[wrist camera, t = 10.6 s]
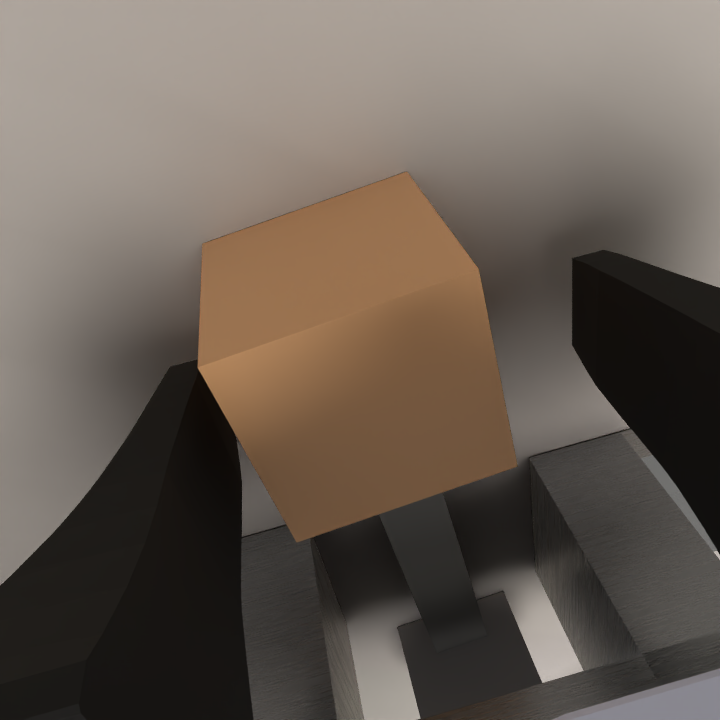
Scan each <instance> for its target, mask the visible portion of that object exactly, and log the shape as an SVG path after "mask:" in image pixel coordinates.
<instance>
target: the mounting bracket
mask: <svg viewBox="0 0 720 720" xmlns="http://www.w3.org/2000/svg"><path fill="white" fill-rule="evenodd" d="M529 462H530V481H531V499H532V518H533V536H534V555H535V571H536V573H537V575H538V577H539V579H540V581H541V583H542V585H543V588H544V590H545V592H546V594H547V596H548V598H549V600H550V602H551V604H552V606H553V608H554V610H555V612H556V614H557V616H558V618H559V621H560V623H561V625H562V627H563V629H564V631H565V633H566V635H567V637H568V639H569V641H570V643H571V645H572V647H573V649H574V651H575V654H576V656H577V658H578V660H579V662H580V664H581V666H582V668H583V670H584V671H582V672H579V673H576V674H572V675H569V676H565V677H562V678H559V679H555V680H552V681H548V682H545V683H541V684H538V685H535V686H531V687H528V688H524V689H521V690H517V691H514V692H511V693H507V694H504V695H500V696H497V697H494V698H490V699H487V700H483V701H480V702H476V703H473V704H470V705H466V706H463V707H459V708H456V709H453V710H449V711H446V712H442V713H439V714H435V715H432V716H429V717H425V718H422V719H418V720H552V719H555V718H557V717H559V716H562V715H564V714H567V713H570V712H574V711H577V710H580V709H584V708H587V707H591V706H594V705H597V704H601V703H604V702H607V701H611V700H614V699H618V698H621V697H624V696H628V695H631V694H635V693H638V692H641V691H645V690H648V689H652V688H655V687H658V686H662V685H665V684H669V683H672V682H675V681H679V680H682V679H686V678H689V677H692V676H696V675H699V674H703V673H706V672H709V671H713V670H716V669H720V560H719V558H718V557H717V556H716V555H715V553H714V552H713V551H717V549H716V547H715V546H714V544H713V543H712V541H711V539H710V538H709V536H708V534H707V533H706V531H705V529H704V528H703V526H702V525H701V523H700V522H699V520H698V518H697V517H696V515H695V514H694V512H693V511H692V509H691V508H690V506H689V505H688V503H687V501H686V500H685V498H684V497H683V495H682V494H681V492H680V491H679V489H678V488H677V486H676V485H675V483H674V482H673V481H672V479H671V478H670V477H669V475H668V474H667V473H666V471H665V470H664V469H663V467H662V466H661V465H660V464H659V462H658V461H657V460H656V459H655V457H654V456H653V455H652V454H651V453H650V451H649V450H648V449H647V448H646V447H645V445H644V444H643V443H642V442H641V440H640V439H639V438H638V437H637V436H636V434H635V433H634V432H633V431H632V429H630V430H626V431H623V432H619V433H616V434H612V435H609V436H605V437H601V438H598V439H594V440H591V441H587V442H584V443H580V444H576V445H573V446H569V447H566V448H562V449H559V450H555V451H551V452H548V453H544V454H541V455H537V456H534V457H530V458H529ZM241 600H242V617H243V627H244V637H245V647H246V658H247V667H248V676H249V684H250V693H251V702H252V711H253V719H254V720H364V716H363V711H362V705H361V700H360V694H359V689H358V683H357V678H356V673H355V667H354V662H353V656H352V651H351V645H350V640H349V634H348V629H347V624H346V622H345V619H344V616H343V614H342V611H341V608H340V606H339V603H338V600H337V598H336V595H335V593H334V590H333V587H332V585H331V582H330V579H329V577H328V574H327V571H326V569H325V566H324V564H323V561H322V558H321V556H320V553H319V550H318V548H317V545H316V543H315V540H314V537H312V538H309V539H306V540H303V541H300V542H296V541H295V539H294V537H293V535H292V534H291V532H290V530H289V528H288V526H284V527H280V528H276V529H273V530H269V531H266V532H262V533H259V534H255V535H251V536H248V537H244V538H242V545H241Z"/></svg>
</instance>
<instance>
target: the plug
mask: <svg viewBox="0 0 720 720" xmlns="http://www.w3.org/2000/svg"><path fill="white" fill-rule="evenodd" d="M198 369H199V371H200V373H201V374H202V376H203V378H204V380H205V381H206V383H207V385H208V387H209V388H210V390H211V392H212V394H213V396H214V397H215V399H216V401H217V403H218V404H219V406H220V408H221V410H222V411H223V413H224V415H225V417H226V419H227V420H228V422H229V424H230V426H231V427H232V429H233V431H234V433H235V434H236V436H237V438H238V440H239V442H240V443H241V445H242V447H243V449H244V450H245V452H246V454H247V456H248V457H249V459H250V461H251V463H252V465H253V466H254V468H255V470H256V472H257V473H258V475H259V477H260V479H261V480H262V482H263V484H264V486H265V488H266V489H267V491H268V493H269V495H270V496H271V498H272V500H273V502H274V503H275V505H276V507H277V509H278V511H279V512H280V514H281V516H282V518H283V519H284V521H285V523H286V525H287V526H288V528H289V530H290V532H291V534H292V535H293V537H294V539H295V541H296V542H300V541H303V540H306V539H309V538H312V537H315V536H317V535H320V534H323V533H326V532H329V531H332V530H335V529H338V528H341V527H344V526H346V525H349V524H352V523H355V522H358V521H361V520H364V519H367V518H370V517H373V516H375V515H378V514H379V516H380V519H381V521H382V524H383V526H384V528H385V531H386V533H387V535H388V538H389V540H390V543H391V545H392V547H393V550H394V552H395V555H396V557H397V559H398V562H399V564H400V566H401V569H402V571H403V574H404V576H405V578H406V581H407V583H408V586H409V588H410V590H411V593H412V595H413V598H414V600H415V602H416V605H417V607H418V609H419V612H420V614H421V617H422V619H420V620H417V621H414V622H411V623H409V624H406V625H403V626H400V627H398V631H399V635H400V639H401V643H402V647H403V651H404V655H405V659H406V663H407V666H408V670H409V674H410V678H411V682H412V686H413V690H414V694H415V698H416V702H417V706H418V710H419V714H420V718H421V719H422V718H425V717H429V716H432V715H435V714H439V713H442V712H446V711H449V710H453V709H456V708H459V707H463V706H466V705H470V704H473V703H476V702H480V701H483V700H487V699H490V698H494V697H497V696H500V695H504V694H507V693H511V692H514V691H517V690H521V689H524V688H528V687H531V686H535V685H538V684H541V683H542V681H541V679H540V677H539V674H538V672H537V670H536V667H535V665H534V663H533V660H532V658H531V655H530V653H529V651H528V648H527V646H526V644H525V641H524V639H523V637H522V634H521V632H520V630H519V627H518V625H517V622H516V620H515V618H514V615H513V613H512V611H511V608H510V606H509V604H508V601H507V599H506V596H505V594H504V592H503V591H502V592H499V593H497V594H494V595H491V596H488V597H485V598H482V599H479V600H476V597H475V594H474V591H473V588H472V584H471V581H470V578H469V575H468V572H467V568H466V565H465V562H464V559H463V556H462V553H461V549H460V546H459V543H458V540H457V537H456V533H455V530H454V527H453V524H452V521H451V517H450V514H449V511H448V508H447V505H446V501H445V498H444V495H443V492H445V491H448V490H451V489H454V488H457V487H460V486H463V485H466V484H468V483H471V482H474V481H477V480H480V479H483V478H486V477H489V476H492V475H495V474H497V473H500V472H503V471H506V470H509V469H512V468H515V467H518V466H517V460H516V455H515V450H514V445H513V440H512V435H511V430H510V425H509V420H508V415H507V410H506V405H505V400H504V395H503V390H502V384H501V379H500V374H499V369H498V364H497V359H496V354H495V349H494V344H493V339H492V334H491V329H490V324H489V319H488V314H487V309H486V303H485V298H484V293H483V288H482V283H481V278H480V273H479V269H478V267H477V266H476V265H475V263H474V262H473V261H472V259H471V258H470V257H469V255H468V254H467V252H466V251H465V250H464V248H463V247H462V246H461V244H460V243H459V242H458V240H457V239H456V238H455V236H454V235H453V233H452V232H451V231H450V229H449V228H448V227H447V225H446V224H445V223H444V221H443V220H442V219H441V217H440V216H439V214H438V213H437V212H436V210H435V209H434V208H433V206H432V205H431V204H430V202H429V201H428V200H427V198H426V197H425V195H424V194H423V193H422V191H421V190H420V189H419V187H418V186H417V185H416V183H415V182H414V181H413V179H412V178H411V177H410V175H409V174H408V172H404V173H401V174H398V175H396V176H393V177H390V178H387V179H384V180H381V181H379V182H376V183H373V184H370V185H367V186H365V187H362V188H359V189H356V190H353V191H350V192H348V193H345V194H342V195H339V196H336V197H333V198H331V199H328V200H325V201H322V202H319V203H316V204H314V205H311V206H308V207H305V208H302V209H300V210H297V211H294V212H291V213H288V214H285V215H283V216H280V217H277V218H274V219H271V220H268V221H266V222H263V223H260V224H257V225H254V226H251V227H249V228H246V229H243V230H240V231H237V232H234V233H232V234H229V235H226V236H223V237H220V238H218V239H215V240H212V241H209V242H206V243H203V244H202V269H201V294H200V320H199V346H198Z"/></svg>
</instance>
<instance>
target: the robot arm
mask: <svg viewBox="0 0 720 720" xmlns="http://www.w3.org/2000/svg"><path fill="white" fill-rule="evenodd" d="M572 346H573V347H574V349H575V351H576V353H577V354H578V356H579V358H580V360H581V361H582V363H583V365H584V367H585V368H586V370H587V372H588V373H589V375H590V377H591V378H592V380H593V381H594V383H595V385H596V386H597V387H598V389H599V390H600V391H601V392H602V394H603V395H604V396H605V397H606V399H607V400H608V401H609V402H610V404H611V405H612V406H613V407H614V409H615V410H616V411H617V412H618V414H619V415H620V416H621V417H622V418H623V420H624V421H625V422H626V423H627V425H628V426H629V427H630V428H631V429H632V431H633V432H634V433H635V434H636V436H637V437H638V438H639V439H640V440H641V442H642V443H643V444H644V445H645V447H646V448H647V449H648V450H649V451H650V453H651V454H652V455H653V456H654V457H655V459H656V460H657V461H658V462H659V464H660V465H661V466H662V467H663V469H664V470H665V471H666V473H667V474H668V475H669V477H670V478H671V479H672V481H673V482H674V483H675V485H676V486H677V488H678V489H679V491H680V492H681V494H682V495H683V497H684V498H685V500H686V501H687V503H688V505H689V506H690V508H691V509H692V511H693V512H694V514H695V515H696V517H697V518H698V520H699V522H700V523H701V525H702V526H703V528H704V529H705V531H706V533H707V534H708V536H709V538H710V539H711V541H712V543H713V544H714V546H715V547H716V549H717V551H718V552H719V554H720V288H719V287H716V286H712V285H709V284H706V283H703V282H700V281H697V280H694V279H691V278H688V277H685V276H682V275H679V274H676V273H673V272H670V271H668V270H665V269H662V268H659V267H656V266H653V265H650V264H647V263H645V262H642V261H639V260H636V259H633V258H630V257H627V256H623V255H620V254H617V253H613V252H609V251H605V250H601V251H598V252H594V253H590V254H587V255H583V256H579V257H576V258H572ZM241 545H242V479H241V471H240V462H239V455H238V448H237V440H236V436H235V434H234V431H233V429H232V427H231V426H230V424H229V422H228V420H227V419H226V417H225V415H224V413H223V411H222V410H221V408H220V406H219V404H218V403H217V401H216V399H215V397H214V396H213V394H212V392H211V390H210V388H209V387H208V385H207V383H206V381H205V380H204V378H203V376H202V374H201V373H200V371H199V369H198V360H194V361H190V362H186V363H183V364H179V365H175V366H172V367H170V368H169V370H168V371H167V373H166V374H165V376H164V378H163V379H162V381H161V383H160V384H159V386H158V388H157V389H156V391H155V393H154V394H153V396H152V398H151V399H150V401H149V403H148V404H147V406H146V408H145V410H144V411H143V413H142V415H141V416H140V418H139V419H138V421H137V423H136V424H135V426H134V427H133V429H132V431H131V432H130V434H129V435H128V437H127V439H126V440H125V442H124V443H123V445H122V446H121V447H120V449H119V450H118V452H117V453H116V454H115V456H114V457H113V459H112V460H111V462H110V463H109V464H108V466H107V467H106V469H105V470H104V472H103V473H102V474H101V476H100V477H99V479H98V480H97V481H96V483H95V484H94V485H93V487H92V488H91V489H90V490H89V492H88V493H87V494H86V495H85V497H84V498H83V499H82V500H81V502H80V503H79V504H78V505H77V506H76V508H75V509H74V510H73V511H72V512H71V513H70V515H69V516H68V517H67V518H66V519H65V520H64V522H63V523H62V524H61V525H60V526H59V527H58V528H57V529H56V530H55V532H54V533H53V534H52V535H51V536H50V537H49V538H48V539H47V540H46V541H45V542H44V543H43V544H42V545H41V546H40V547H39V548H38V549H37V550H36V551H35V552H34V553H33V554H32V555H31V556H30V557H29V558H28V559H27V560H26V561H25V562H24V563H23V564H22V565H21V566H20V567H19V568H18V569H17V570H16V571H15V572H14V573H13V574H12V575H11V576H10V577H9V578H8V579H7V580H6V581H5V582H4V583H3V584H1V585H0V720H254V719H253V711H252V702H251V693H250V684H249V676H248V667H247V658H246V647H245V637H244V627H243V617H242V600H241ZM552 720H720V669H716V670H713V671H709V672H706V673H703V674H699V675H696V676H692V677H689V678H686V679H682V680H679V681H675V682H672V683H669V684H665V685H662V686H658V687H655V688H652V689H648V690H645V691H641V692H638V693H635V694H631V695H628V696H624V697H621V698H618V699H614V700H611V701H607V702H604V703H601V704H597V705H594V706H591V707H587V708H584V709H580V710H577V711H574V712H570V713H567V714H564V715H562V716H559V717H557V718H555V719H552Z"/></svg>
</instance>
